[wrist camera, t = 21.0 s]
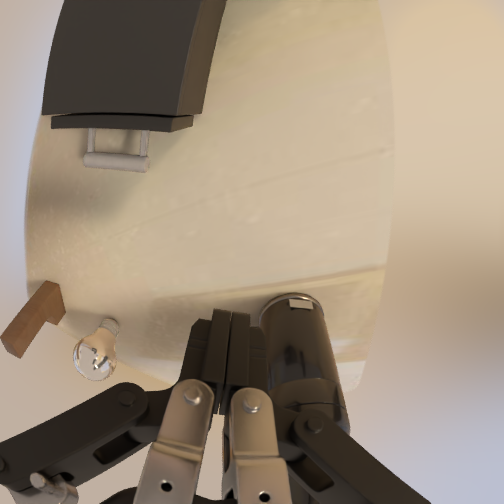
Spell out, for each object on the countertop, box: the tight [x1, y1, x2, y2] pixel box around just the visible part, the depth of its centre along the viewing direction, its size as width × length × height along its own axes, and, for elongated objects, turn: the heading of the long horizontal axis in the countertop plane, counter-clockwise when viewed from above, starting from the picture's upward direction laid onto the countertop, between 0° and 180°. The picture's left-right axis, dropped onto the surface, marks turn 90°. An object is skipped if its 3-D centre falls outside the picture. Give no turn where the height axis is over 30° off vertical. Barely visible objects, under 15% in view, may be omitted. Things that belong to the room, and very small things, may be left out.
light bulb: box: [73, 319, 119, 381], centre depth 36 cm, size 7×7×12 cm
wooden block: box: [0, 281, 66, 358], centre depth 33 cm, size 7×3×15 cm, turn 168°
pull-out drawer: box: [51, 112, 194, 173], centre depth 20 cm, size 19×13×8 cm, turn 169°
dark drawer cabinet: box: [42, 0, 227, 116], centre depth 18 cm, size 16×14×10 cm
